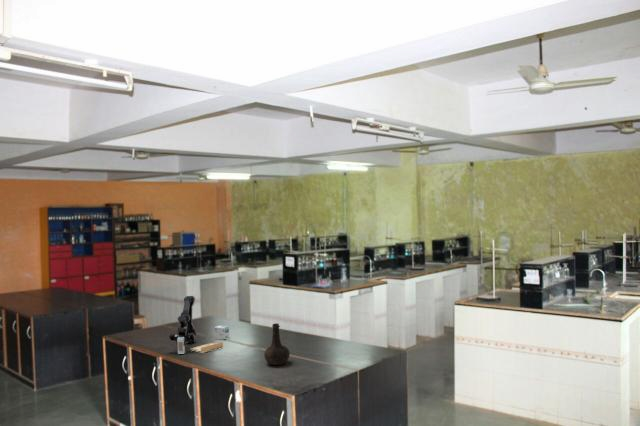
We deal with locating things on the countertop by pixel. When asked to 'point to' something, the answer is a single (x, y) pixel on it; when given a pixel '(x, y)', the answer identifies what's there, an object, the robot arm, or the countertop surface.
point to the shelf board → (198, 349)
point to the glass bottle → (276, 349)
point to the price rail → (211, 346)
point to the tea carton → (181, 345)
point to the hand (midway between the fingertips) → (180, 346)
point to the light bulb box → (222, 332)
